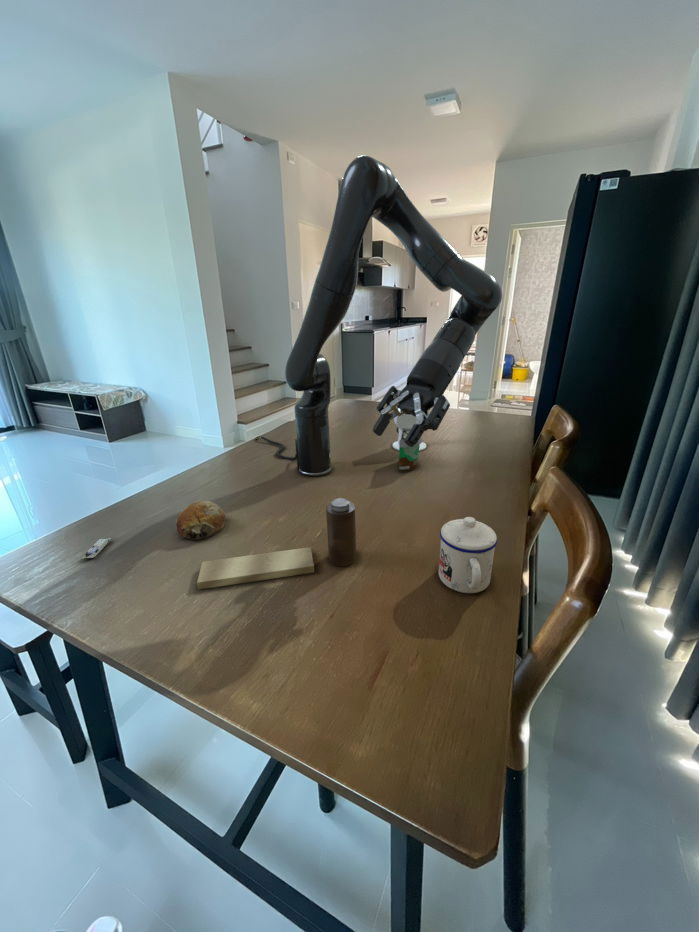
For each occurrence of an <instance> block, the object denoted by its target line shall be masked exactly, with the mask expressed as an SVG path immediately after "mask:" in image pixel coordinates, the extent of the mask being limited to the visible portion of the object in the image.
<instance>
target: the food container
mask: <svg viewBox="0 0 699 932" xmlns="http://www.w3.org/2000/svg"><path fill="white" fill-rule="evenodd" d="M410 430H411V429H409V428H403V430H402V436H401V440H400V442H399V450H398V453H399V454H398V472H399V473H405V472H411V471H414V470H416V469H417V468H418V462H419V454H420V451H419V447H420V444H421V443H422V442H423V437H422V436H423V435H422V436H421V437H420V439H419V441H418V442H417V443H416V444H415V445H414V446H413V447H410V446H408V445H407V444H406V443H405V442H404V440H405V438H406V436H407V435H408V433H409V431H410Z"/></svg>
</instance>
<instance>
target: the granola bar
mask: <svg viewBox="0 0 699 932" xmlns="http://www.w3.org/2000/svg"><path fill="white" fill-rule="evenodd" d="M111 540H112V538H111V537H109V538H100V539H98V540H97V541H96V542H95V543H94V544H93V545H92V546H91V547H90V548H89V549H87V551H86V552H85V554H84V555H83V556H82V557H81V559H82V560H83V559H92V558H96V557H97V556H98V554H99V553H100V552H102V550H103V549H104V548H105V546H107V544H108V543H109V542H110V541H111Z"/></svg>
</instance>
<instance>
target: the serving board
mask: <svg viewBox="0 0 699 932" xmlns="http://www.w3.org/2000/svg"><path fill="white" fill-rule="evenodd" d="M313 573H315V564H314V559H313V553H312V547H311V546H308V547H300V548H294V549H286V550H280V551H279V550H277V551H271V552H265V553H257V554H249V555H243V556H234V557H227V558H220V559H214V560H206V561H202V562H201V566H200V570H199V573H198V578H197V581H196V585H197V589H198V590H207V589H212V588H220V587H226V586H231V585H232V586H233V585H238V584H239V585H240V584H245V583H252V582H259V581H266V580H273V579H279V578H287V577H294V576H299V575H306V574H313Z"/></svg>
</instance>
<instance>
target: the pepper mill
mask: <svg viewBox="0 0 699 932" xmlns="http://www.w3.org/2000/svg"><path fill="white" fill-rule="evenodd" d="M325 516H326V532H327V533H326V534H327V549H328V561H329V563H330V564H331V565H333V566H335V567H339V568H344V567H349V566H352V565H353V564H354V563H356V561H357V533H356V529H357V528H356V506H355V504H354V503H352V502H351V501H349V499H346V498H341V497H339V498H335V499H333V500H331V502H329V503H328V504H327V505H326V507H325Z"/></svg>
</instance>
